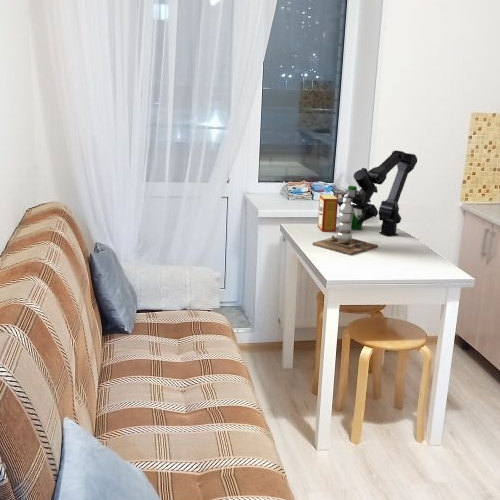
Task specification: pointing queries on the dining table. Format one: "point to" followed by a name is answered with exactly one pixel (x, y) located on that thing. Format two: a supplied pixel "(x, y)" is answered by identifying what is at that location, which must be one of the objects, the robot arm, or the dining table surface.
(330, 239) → the walnut bottle stand
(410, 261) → the dining table surface
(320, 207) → the baking soda box
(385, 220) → the robot arm
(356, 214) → the milk carton
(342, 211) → the plastic bottle
